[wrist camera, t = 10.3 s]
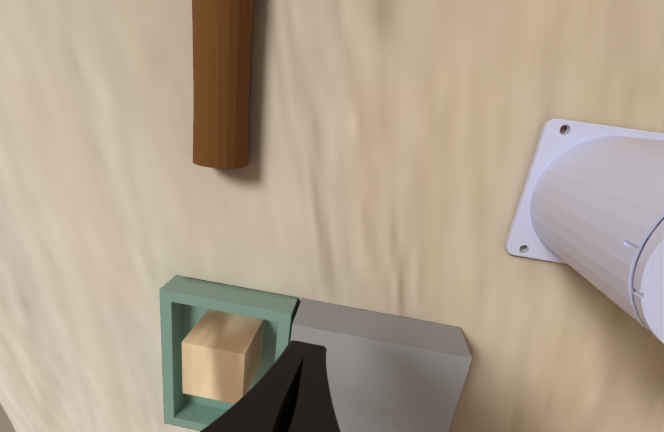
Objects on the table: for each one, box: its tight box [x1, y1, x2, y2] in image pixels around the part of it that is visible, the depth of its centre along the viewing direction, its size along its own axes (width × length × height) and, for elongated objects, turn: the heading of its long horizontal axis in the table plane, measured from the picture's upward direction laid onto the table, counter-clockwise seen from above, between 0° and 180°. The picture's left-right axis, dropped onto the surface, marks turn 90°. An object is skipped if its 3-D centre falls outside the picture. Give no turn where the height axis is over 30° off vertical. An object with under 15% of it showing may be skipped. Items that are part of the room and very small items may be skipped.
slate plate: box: [290, 298, 472, 432], centre depth 24 cm, size 11×12×3 cm
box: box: [160, 275, 298, 431], centre depth 25 cm, size 9×12×2 cm
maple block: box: [182, 309, 265, 404], centre depth 23 cm, size 4×4×4 cm
